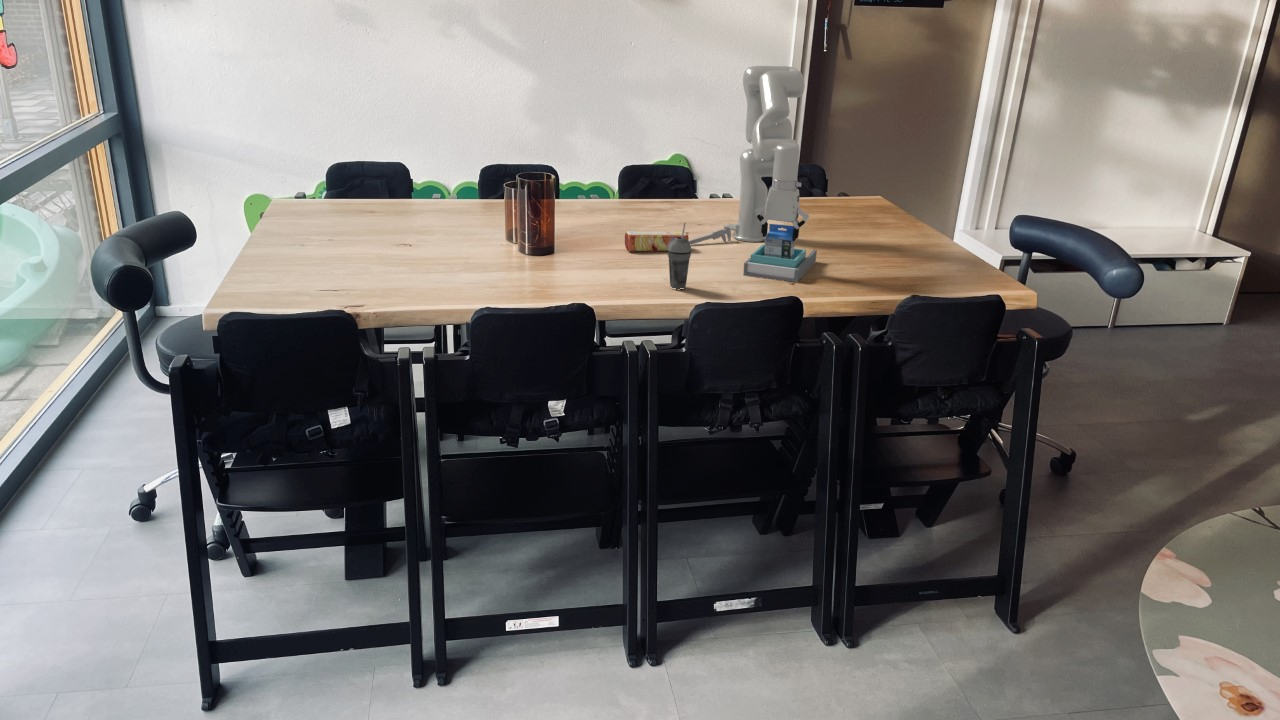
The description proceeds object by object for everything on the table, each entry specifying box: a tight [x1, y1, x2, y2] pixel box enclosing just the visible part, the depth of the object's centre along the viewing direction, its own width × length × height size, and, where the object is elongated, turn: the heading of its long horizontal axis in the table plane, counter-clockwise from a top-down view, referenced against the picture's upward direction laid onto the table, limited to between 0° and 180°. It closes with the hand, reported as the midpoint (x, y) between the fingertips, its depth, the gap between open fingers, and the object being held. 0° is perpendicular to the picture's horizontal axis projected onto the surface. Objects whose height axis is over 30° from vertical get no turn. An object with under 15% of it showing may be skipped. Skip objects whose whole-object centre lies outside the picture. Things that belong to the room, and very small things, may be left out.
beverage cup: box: [666, 222, 692, 289], centre depth 295 cm, size 7×7×20 cm
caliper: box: [689, 224, 732, 245], centre depth 347 cm, size 20×1×6 cm, turn 116°
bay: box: [742, 249, 818, 283], centre depth 321 cm, size 17×26×4 cm, turn 158°
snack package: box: [624, 230, 690, 253], centre depth 337 cm, size 21×7×7 cm, turn 100°
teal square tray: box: [750, 244, 807, 268], centre depth 317 cm, size 14×14×5 cm
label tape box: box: [764, 223, 796, 260], centre depth 316 cm, size 9×4×12 cm, turn 64°
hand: (779, 237), depth 315 cm, fingers open, 9 cm apart
